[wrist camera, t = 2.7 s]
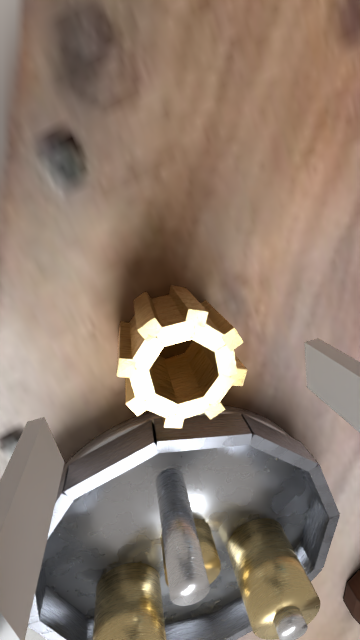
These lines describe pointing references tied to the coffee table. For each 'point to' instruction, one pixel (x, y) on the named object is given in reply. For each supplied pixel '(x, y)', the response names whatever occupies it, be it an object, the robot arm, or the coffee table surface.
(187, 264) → the coffee table surface
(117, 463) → the carrier
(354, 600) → the mug
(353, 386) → the robot arm
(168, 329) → the planet gear
